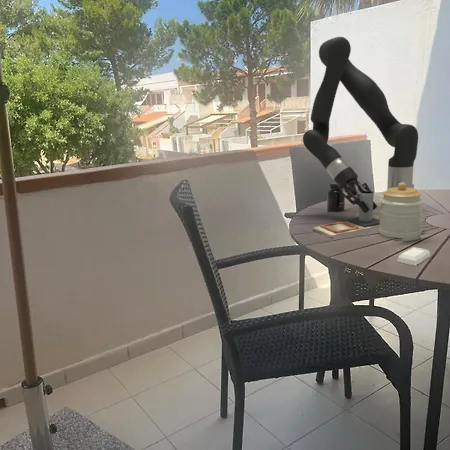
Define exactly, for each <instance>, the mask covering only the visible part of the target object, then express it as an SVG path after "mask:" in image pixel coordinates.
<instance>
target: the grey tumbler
mask: <svg viewBox="0 0 450 450" xmlns="http://www.w3.org/2000/svg"><path fill="white" fill-rule="evenodd" d="M374 193H375V192H374V191H372V190H371V191H361V192H360V194H361V198H362V200H363V201H364V202H365V204H366V205H367V206H368V207H369V209H370V210H369V211H368V212H367V213H364V212H363V211H362V209H361V208H360V207H359V206H358V207H359V208H358V211H359V213H358V214H359V215H358V218H359V221H362V222H371V221H372V219H373V217H374V210H373V201H374V198H375V197H374ZM363 201H362V202H363Z"/></svg>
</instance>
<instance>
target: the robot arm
mask: <svg viewBox="0 0 450 450" xmlns="http://www.w3.org/2000/svg"><path fill="white" fill-rule="evenodd" d="M351 51H352V47H351V43H350V41H349V40H348V39H347V38H346V37H344V36H335V37H332V38H330V39H328V40H326V41H324V42H322V43H321V45H320V47H319V50H318V57H319V59H320V62H321V63H322V64H323V65H324V66H325V72H324V76H323V78H322V81H321V83H320V86H319V88H318V90H317V92H316V95H315V97H314V101H313V104H312V105H313V106H312V108H311V114H310V121H311V123H312V129H308V130H306V131H305V132H304V134H303V135H302V143H303V145H304V147H305V148H306V149H307V150H308V152H310V153H311V154H312V155H313V156H314V157H315V158H316V159H317V160H318V161H319V162H320V164H321V165H322V166H323V167H324V169H325V170H326V172H327V173H328V175H329V176H330V177H331V179H332V180H333V182H336V184H337V185H338V186H339V187H340V189H342V190H344V191H343V192H342V193H341V194H342V195H343V196H344V197H345V200H348V202H349V203H350V204H351V205H353V206H354V205H355V206H358V207H360V208H361V209H362V211H363V212H364V213H367V212H368V211H369V210H370V209H369V207H368V206H367V205H366V204H365V202H364V201H363V200H362V198H361V194H360V192H361V191H372V190H371V189H370V187H369V185H368V183H366V182H364V183H361V182H360V181H358V178H359V176H358V174H357V172H355V169H354V168H353V167H351V165H350V164H349V163H348V162H347V160H345V159H344V158H343V157H342V156H341V154H340V153H339V151H338V150H337V149H335V147H333V146H331V145H329V143H328V141H329V136H330V119H331V116H332V111H333V107H334V102H335V99H336V95H337V91H338V88H339V85H340V83H341V84H342V85H343V86H344V87H343V88H345V90H346V91H347V92H348V93H349V95H350V96H351V97H352V99H354V101H355V102H356V103H357V105H358V106H359V107H360V108H361V109H362V110H363V112H364V113H365V114H366V116H367V117H368V118H369V119H370V120H371V121H372V122H373V123H374V124H375V125H376V127H377V129H378V130H379V132H380V133H381V135H382V137H383V138H384V140H385V141H386V143H387V144H388V145H389V146H391V147H393V148H394V151H393V155H392V156H391V157H390V158H389V159H388V167H387V183H386V184H387V186H386V187H387V188H386V191H387V190H388V189H389V188H394V187H398V184H399V183H401V182H404V183H405V184H406V185H407V187H408V188H414V189H415V185H414V184H413V183H414V182H413V179H414V164H415V163H414V162H415V161H416V158H417V154H418V147H419V146H418V144H419V132H418V130H417V128H416V127H415V126H414V125H413V124H407V123H401V122H400V121H399V120H398V119H397V118H396V117H395V116H394V115H393V113H392V112H391V110H390V108H389V105H388V101H387V98H386V95H385V94H384V92H383V90H382V89H381V87H379V86H378V84H377V83H376V82H375V80H373V79H372V77H370V76H369V75H367V74H366V73H364V72H363V71H361V70H360V69H359V68H358V67H356V66H355V65H354V64H353V63H352V62H351V60H350V56H351ZM362 201H363V202H362ZM377 208H378V205H377V204H376V203H375V201H374V200H373V211H375V210H376V209H377Z"/></svg>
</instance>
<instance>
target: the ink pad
mask: <svg viewBox="0 0 450 450" xmlns="http://www.w3.org/2000/svg"><path fill="white" fill-rule="evenodd" d="M376 218H377V217H375V218H373V219H372V221H371V222H362V221H359V217H354V218H351V219H347V221H348V222H350V223H353V224H356V225H359V226H361V227H364V228H366V227H371V226H376V225H379V224H380V220H379V219H380V218H378V219H376Z"/></svg>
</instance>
